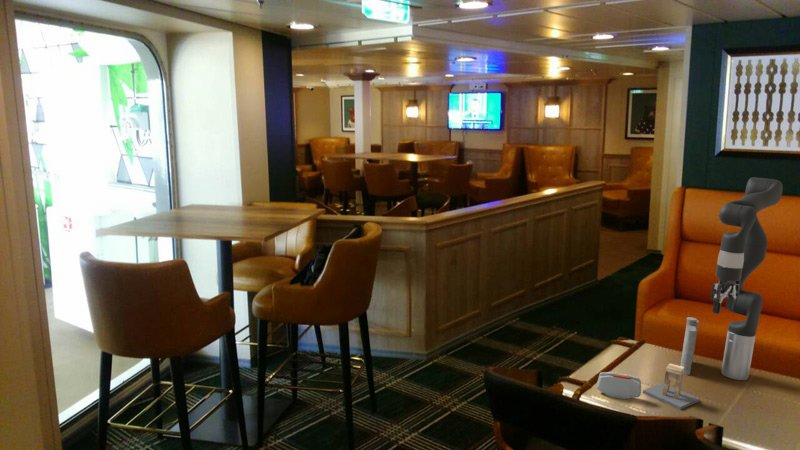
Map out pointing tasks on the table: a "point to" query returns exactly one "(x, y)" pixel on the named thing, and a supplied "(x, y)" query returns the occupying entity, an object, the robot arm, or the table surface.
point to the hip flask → (689, 344)
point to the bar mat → (671, 396)
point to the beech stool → (673, 379)
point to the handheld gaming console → (619, 385)
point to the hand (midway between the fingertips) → (722, 311)
